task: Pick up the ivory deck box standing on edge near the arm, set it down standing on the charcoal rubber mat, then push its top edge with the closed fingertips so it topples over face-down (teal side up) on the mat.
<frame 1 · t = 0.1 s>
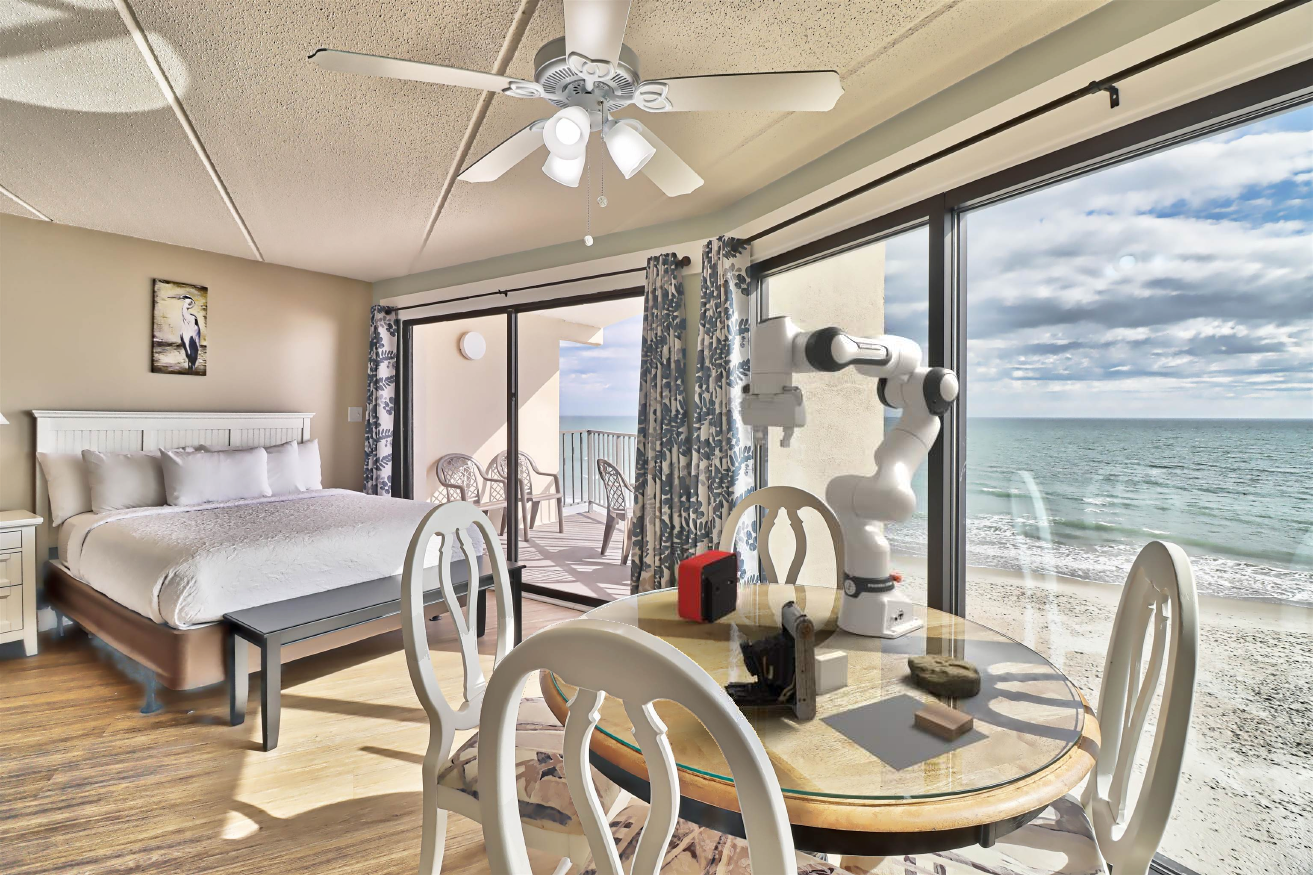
hand: (772, 446, 145), 48 cm above the table, fingers open, 8 cm apart
walnut block: (943, 726, 111), point 1 cm above the table, touching mat
vintage camera: (768, 713, 117), on the table
deck box: (830, 689, 126), on the table
alarm clock: (711, 614, 172), on the table
stone: (943, 687, 128), on the table
mat: (901, 730, 110), on the table
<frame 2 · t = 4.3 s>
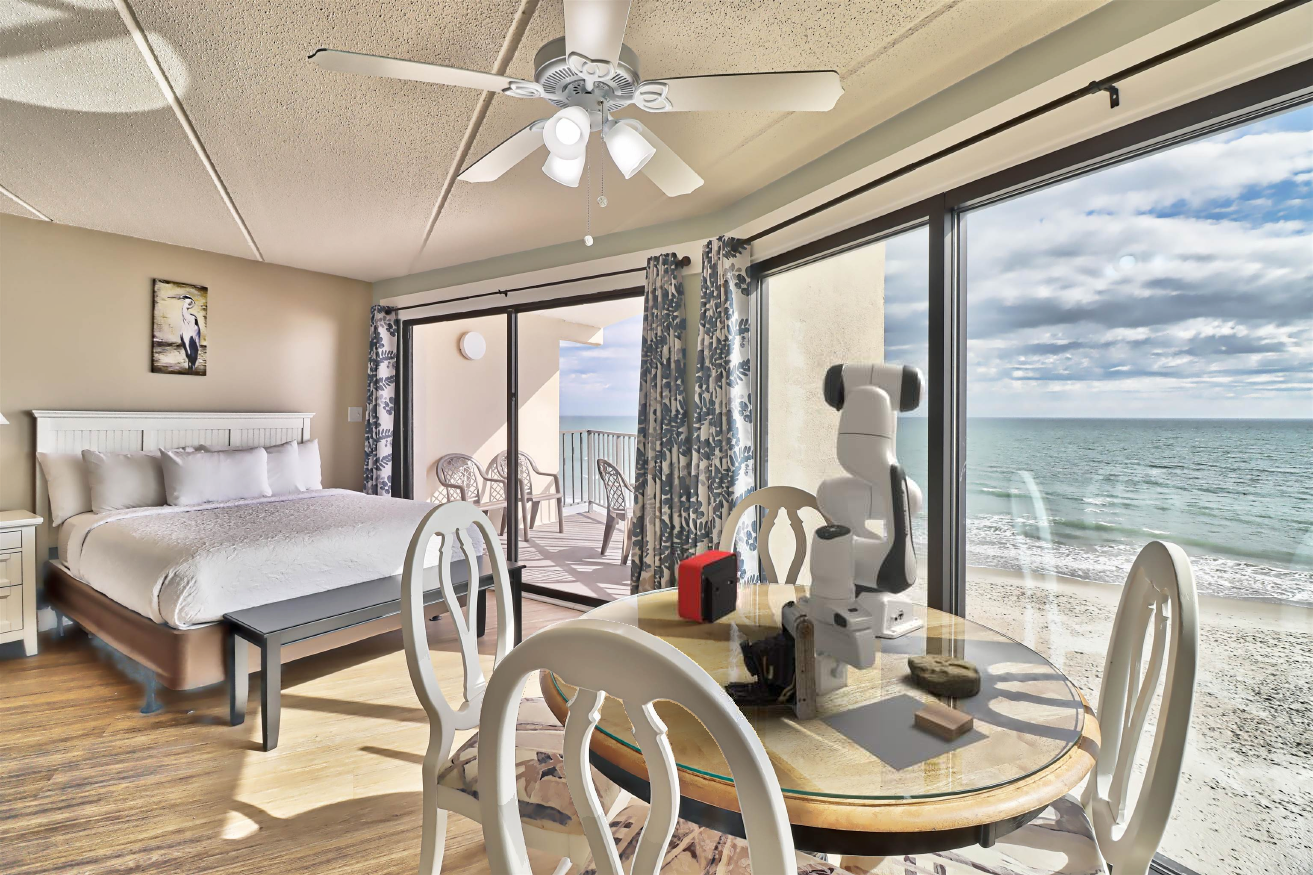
hand: (830, 674, 126), 3 cm above the table, fingers closed on deck box, 2 cm apart
deck box: (830, 689, 126), on the table, touching gripper
everything else where it was.
when the fingers open (4 cm above the table, at t = 8.9 s): deck box stays where it is, resting on mat.
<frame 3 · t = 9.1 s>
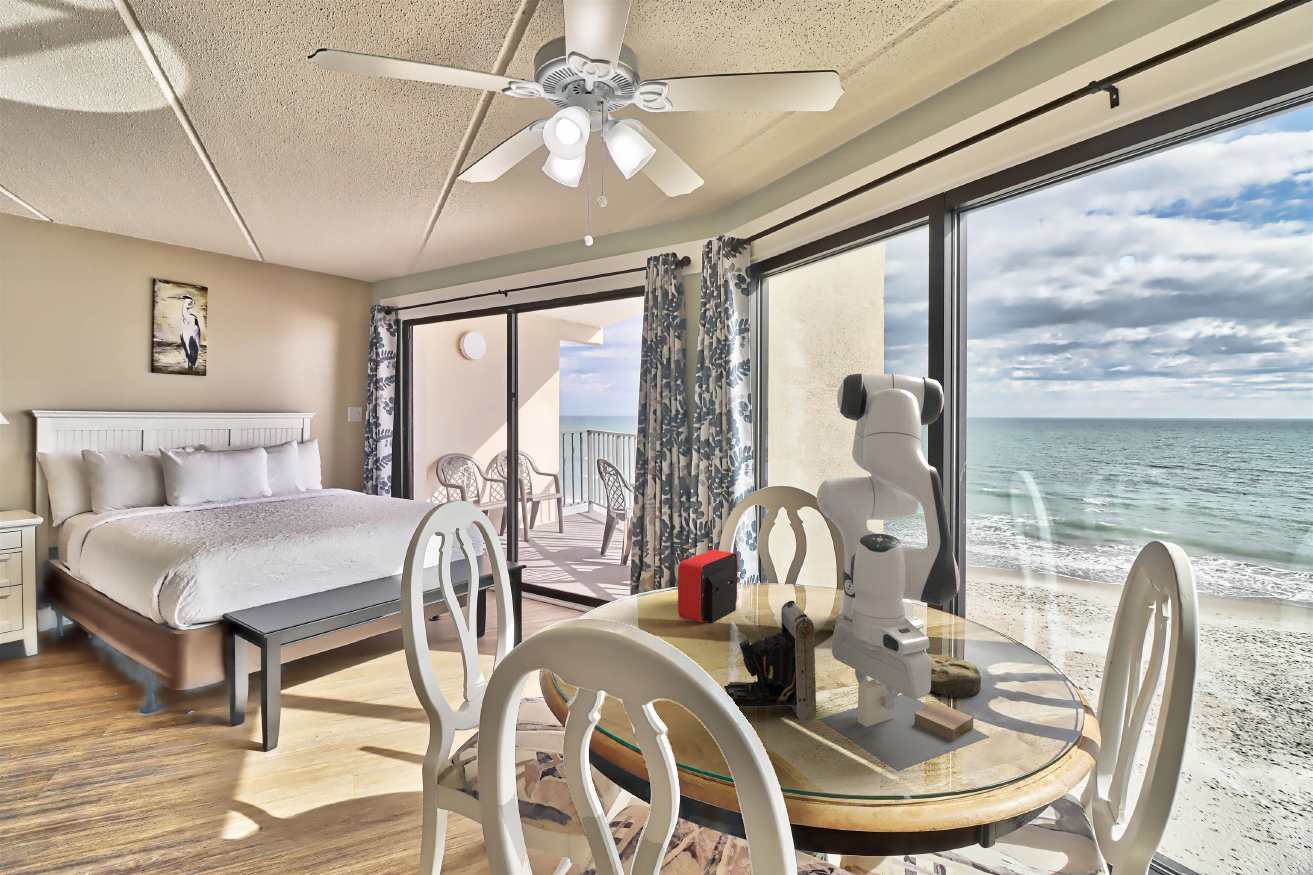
hand: (876, 701, 113), 4 cm above the table, fingers open, 4 cm apart
deck box: (876, 719, 113), point 1 cm above the table, touching mat
everything else where it was.
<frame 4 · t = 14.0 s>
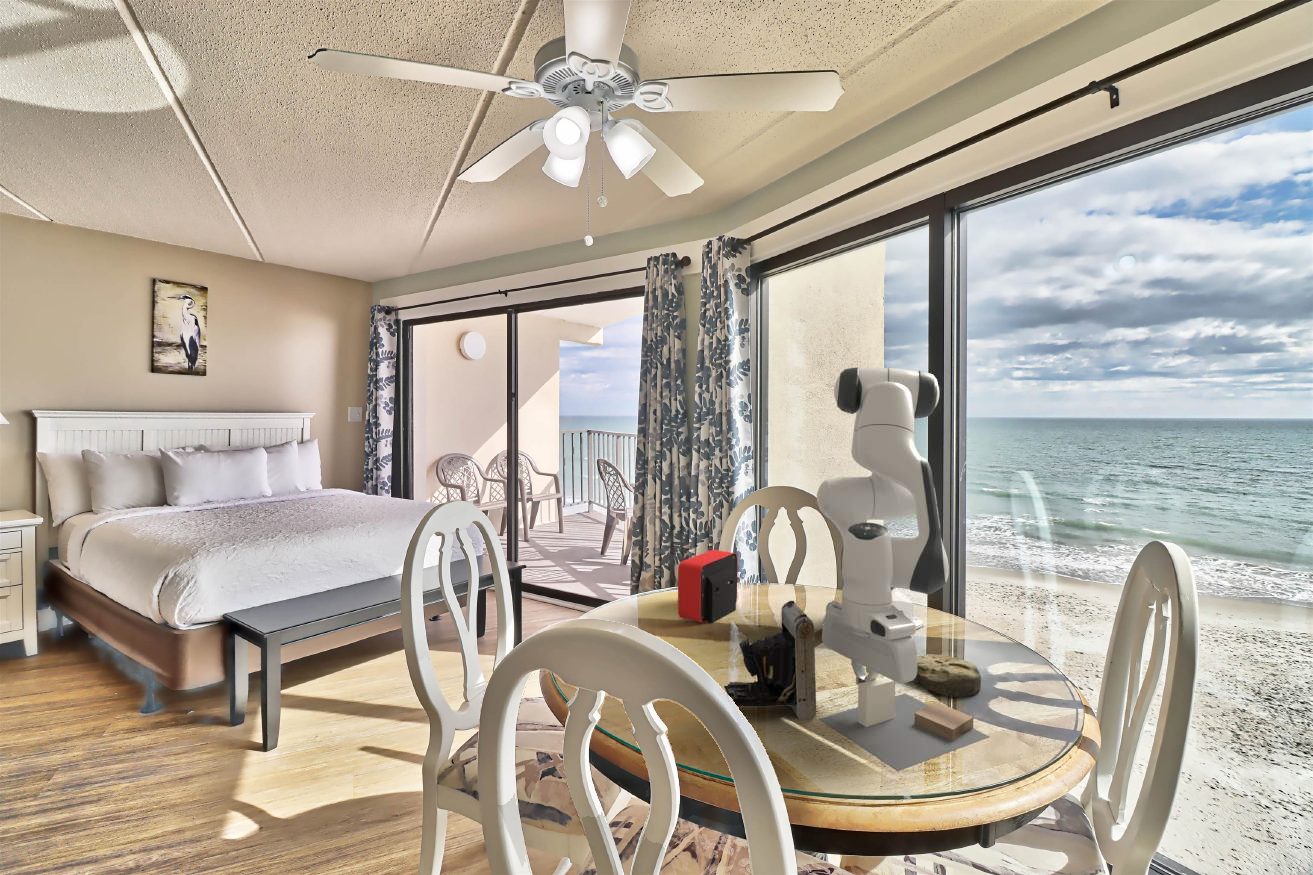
hand: (865, 687, 115), 6 cm above the table, fingers closed
deck box: (876, 719, 113), point 1 cm above the table, touching gripper, mat
everything else where it was.
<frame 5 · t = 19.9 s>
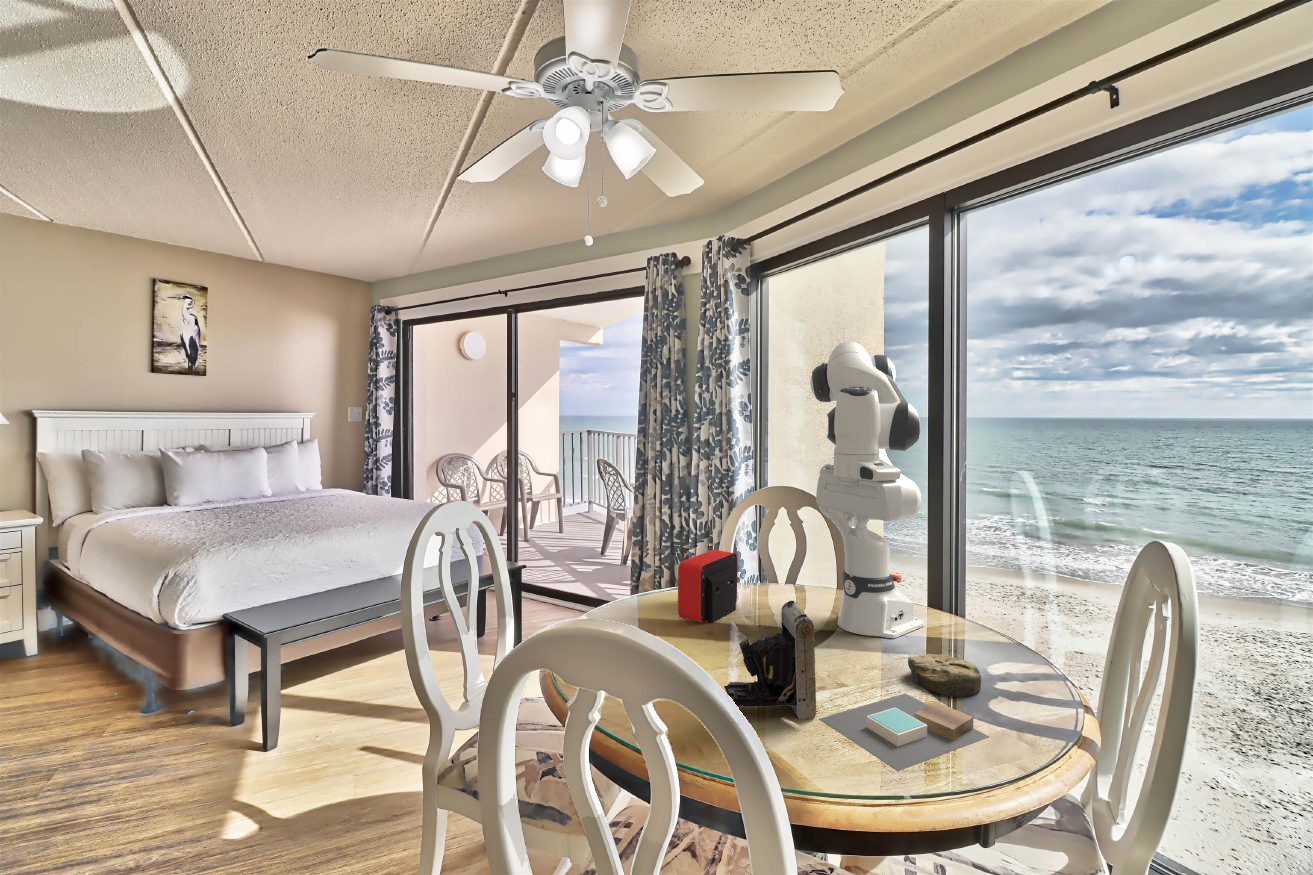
hand: (855, 535, 126), 31 cm above the table, fingers closed
deck box: (880, 717, 112), point 2 cm above the table, tilted 90°, touching mat
everything else where it was.
at the end: deck box tilted 90°; deck box inside the target area (3.5 cm from its centre), point 1.6 cm above the table; the gripper is holding nothing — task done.
